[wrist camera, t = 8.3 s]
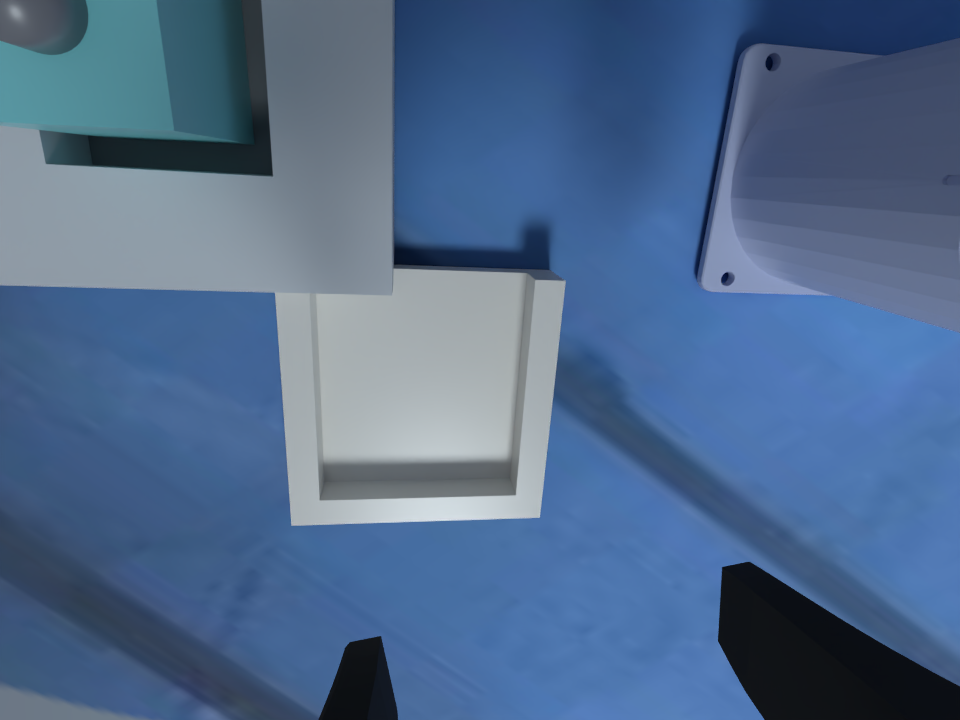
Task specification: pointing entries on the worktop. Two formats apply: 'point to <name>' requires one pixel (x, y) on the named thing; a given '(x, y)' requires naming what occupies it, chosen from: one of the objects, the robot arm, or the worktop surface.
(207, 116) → the plug
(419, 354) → the white square tray
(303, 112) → the port
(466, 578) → the worktop surface
